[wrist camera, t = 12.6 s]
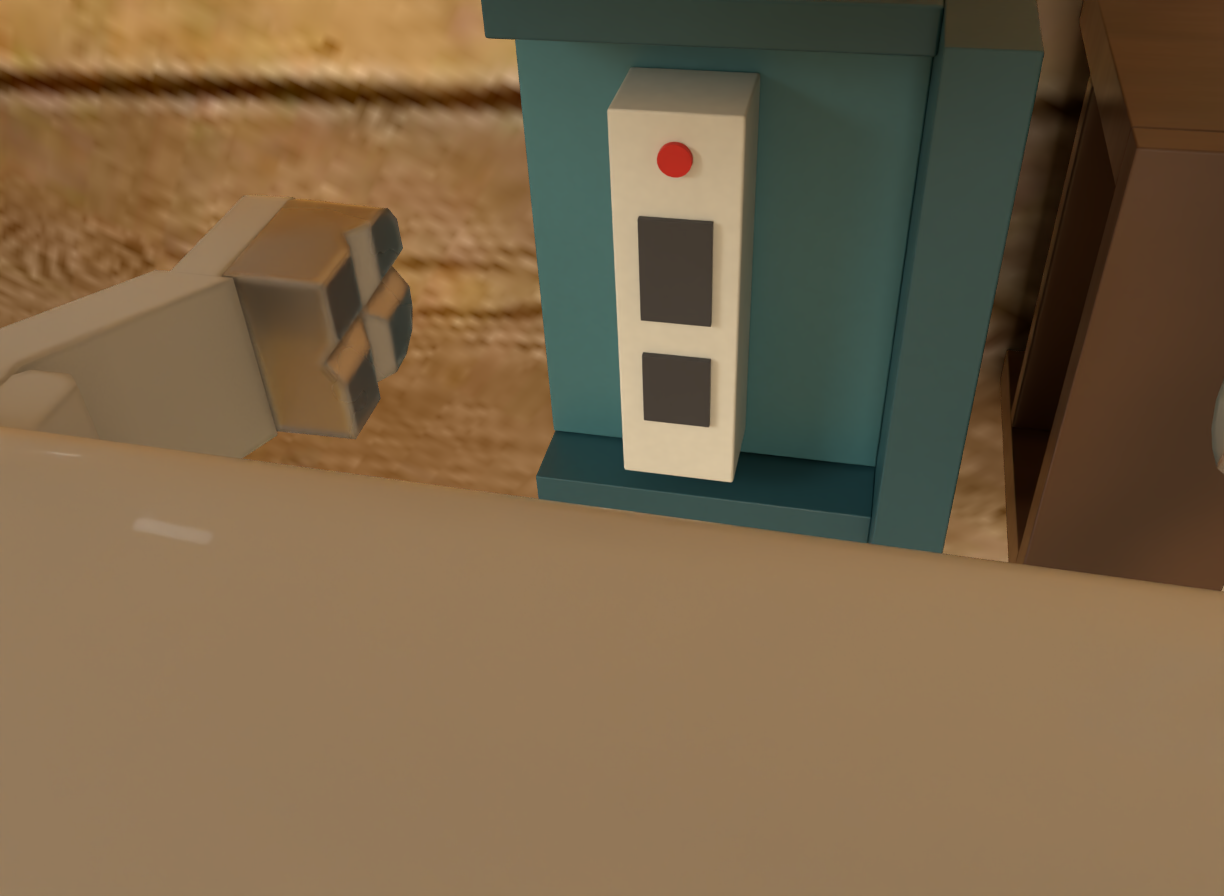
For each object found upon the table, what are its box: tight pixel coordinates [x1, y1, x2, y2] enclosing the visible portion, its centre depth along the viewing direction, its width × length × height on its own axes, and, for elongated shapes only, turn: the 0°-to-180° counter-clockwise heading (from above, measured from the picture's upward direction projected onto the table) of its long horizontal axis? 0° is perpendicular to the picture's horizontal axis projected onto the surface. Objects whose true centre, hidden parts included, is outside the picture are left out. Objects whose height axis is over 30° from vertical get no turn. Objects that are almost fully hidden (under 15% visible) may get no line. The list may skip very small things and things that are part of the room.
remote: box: [607, 67, 760, 482], centre depth 33 cm, size 4×12×3 cm, turn 2°
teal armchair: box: [481, 0, 1044, 553], centre depth 34 cm, size 13×17×10 cm
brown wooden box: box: [1000, 0, 1224, 591], centre depth 31 cm, size 5×14×11 cm, turn 2°
